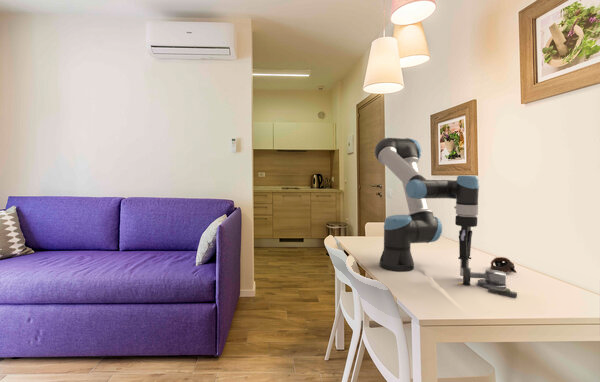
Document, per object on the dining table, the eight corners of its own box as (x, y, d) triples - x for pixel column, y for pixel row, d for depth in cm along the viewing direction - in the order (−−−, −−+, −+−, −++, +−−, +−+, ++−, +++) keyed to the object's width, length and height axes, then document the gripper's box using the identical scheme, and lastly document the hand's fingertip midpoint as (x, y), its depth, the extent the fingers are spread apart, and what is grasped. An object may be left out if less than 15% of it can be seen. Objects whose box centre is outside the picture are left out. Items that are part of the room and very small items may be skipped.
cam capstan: (498, 282, 122) (498, 265, 122) (511, 290, 113) (512, 273, 113) (458, 280, 123) (458, 264, 123) (468, 288, 114) (468, 271, 114)
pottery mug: (523, 279, 133) (517, 263, 131) (500, 287, 134) (494, 272, 132) (506, 264, 144) (501, 249, 142) (485, 272, 146) (480, 257, 144)
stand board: (452, 288, 119) (453, 278, 119) (469, 277, 133) (469, 268, 133) (515, 303, 106) (515, 291, 105) (526, 288, 119) (526, 278, 119)
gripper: (459, 213, 132) (457, 270, 133) (451, 216, 121) (449, 278, 122) (480, 214, 127) (477, 273, 128) (474, 218, 117) (471, 282, 118)
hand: (464, 275), depth 125 cm, fingers closed
